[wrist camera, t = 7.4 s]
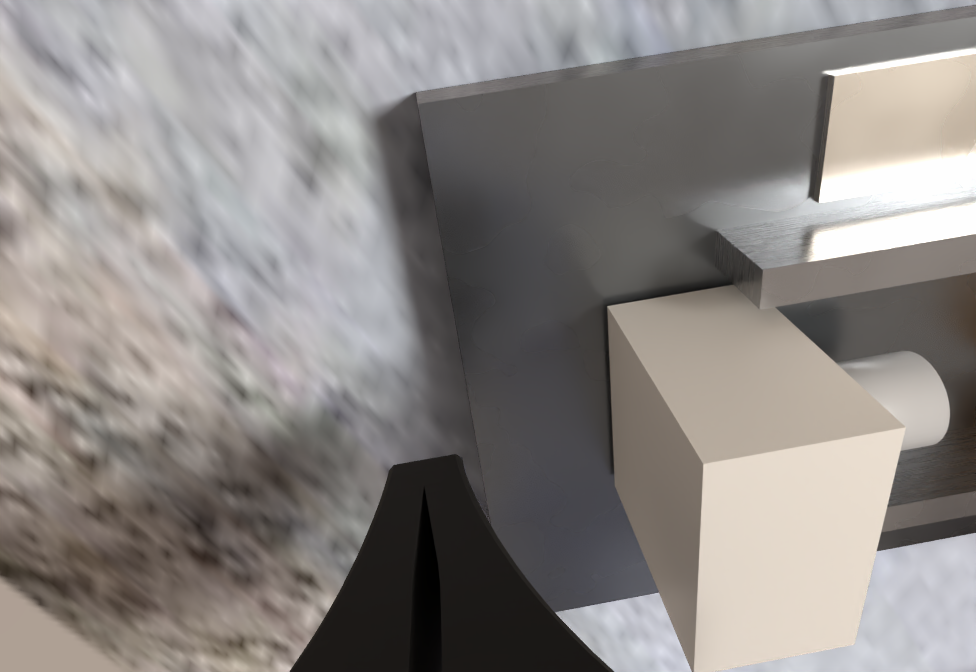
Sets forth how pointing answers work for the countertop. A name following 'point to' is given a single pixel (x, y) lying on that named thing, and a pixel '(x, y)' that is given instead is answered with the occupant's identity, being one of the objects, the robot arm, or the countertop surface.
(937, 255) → the base
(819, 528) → the cream block with peg
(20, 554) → the countertop surface
